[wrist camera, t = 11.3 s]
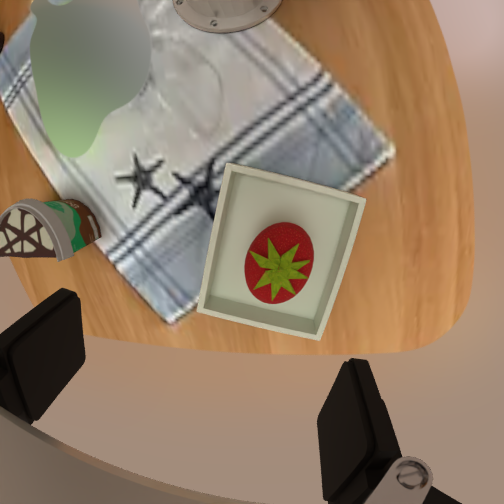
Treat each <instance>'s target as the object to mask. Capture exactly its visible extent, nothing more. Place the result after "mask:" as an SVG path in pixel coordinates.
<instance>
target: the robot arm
mask: <svg viewBox="0 0 504 504" xmlns="http://www.w3.org/2000/svg"><path fill="white" fill-rule="evenodd" d="M172 1H173V5H174V8H175V9H176V11H177V13H178V14H179V16H180V17H181V18H182V19H183V20H184V21H185V22H187V23H188V24H189V25H191V26H193V27H195V28H197V29H200V30H204V31H208V32H215V33H228V32H235V31H240V30H243V29H247V28H250V27H252V26H255V25H257V24H259V23H261V22H262V21H264V20H265V19H267V18H268V17H269V16H271V15H272V14H273V13H274V12H275V11H276V9H277V8H278V7H279V5H280V4H281V2H282V0H172ZM263 11H266V12H263ZM214 25H217V26H215V27H214ZM84 362H85V347H84V338H83V328H82V316H81V302H80V298H79V297H78V296H77V293H76V292H74V291H71V290H68V289H65V288H61V289H59V290H58V291H56V292H55V293H54V294H52V295H51V296H49V297H48V298H47V299H45V300H44V301H43V302H41V303H40V304H39V305H37V306H36V307H35V308H33V309H32V310H31V311H29V312H28V313H27V314H25V315H24V316H23V317H21V318H20V319H19V320H17V321H16V322H15V323H14V324H12V325H11V326H10V327H9V328H7V329H6V330H5V331H3V332H2V333H1V334H0V504H264V503H256V502H249V501H242V500H236V499H230V498H225V497H220V496H214V495H210V494H205V493H201V492H197V491H192V490H189V489H184V488H181V487H177V486H174V485H170V484H166V483H163V482H159V481H156V480H153V479H150V478H147V477H144V476H141V475H138V474H135V473H132V472H130V471H127V470H124V469H122V468H119V467H116V466H114V465H111V464H109V463H106V462H104V461H101V460H99V459H97V458H94V457H92V456H90V455H88V454H85V453H83V452H81V451H79V450H77V449H75V448H73V447H70V446H68V445H66V444H64V443H63V442H61V441H59V440H57V439H55V438H53V437H51V436H49V435H47V434H45V433H44V432H42V431H40V430H38V429H37V428H35V427H33V426H31V424H32V423H33V421H34V420H35V421H37V420H39V419H40V417H41V416H42V415H43V414H44V412H45V411H46V410H47V409H48V407H49V406H50V405H51V403H52V402H53V401H54V400H55V398H56V397H57V396H58V394H59V393H60V392H61V391H62V390H63V388H64V387H65V386H66V385H67V384H68V382H69V381H70V380H71V379H72V377H73V376H74V375H75V374H76V373H77V371H78V370H79V369H80V368H81V366H82V365H83V364H84ZM317 427H318V439H319V450H320V462H321V474H322V489H323V499H324V500H325V501H328V504H462V503H460V502H458V501H456V500H455V499H453V498H451V497H450V496H448V495H446V494H444V493H443V492H441V491H439V490H438V489H436V488H435V487H433V486H431V485H432V481H433V474H432V472H431V469H430V468H429V466H427V464H426V463H425V462H423V461H422V460H421V459H418V458H416V457H410V456H407V457H402V454H401V451H400V448H399V445H398V441H397V438H396V436H395V432H394V429H393V426H392V423H391V420H390V417H389V414H388V411H387V408H386V405H385V403H384V401H383V400H382V399H381V396H380V393H379V390H378V388H377V385H376V382H375V379H374V376H373V374H372V371H371V368H370V365H369V363H368V361H367V360H363V359H354V358H351V359H350V360H349V361H348V362H346V361H345V362H344V363H343V364H342V367H341V369H340V371H339V373H338V376H337V378H336V380H335V382H334V384H333V386H332V389H331V391H330V393H329V395H328V397H327V399H326V401H325V403H324V405H323V407H322V409H321V411H320V413H319V415H318V419H317Z"/></svg>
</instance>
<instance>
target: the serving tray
mask: <svg viewBox="0 0 504 504" xmlns="http://www.w3.org/2000/svg"><path fill="white" fill-rule="evenodd" d="M365 203H366V199H365V198H363V197H361V196H358V195H356V194H352V193H349V192H346V191H342V190H339V189H335V188H332V187H328V186H324V185H321V184H317V183H313V182H310V181H306V180H302V179H298V178H294V177H290V176H286V175H282V174H278V173H274V172H270V171H266V170H262V169H257V168H253V167H249V166H244V165H240V164H235V163H226V167H225V171H224V176H223V180H222V185H221V189H220V194H219V199H218V203H217V208H216V213H215V218H214V223H213V228H212V233H211V238H210V243H209V248H208V253H207V258H206V263H205V269H204V274H203V280H202V285H201V291H200V296H199V302H198V307H197V312H200V313H204V314H207V315H211V316H215V317H219V318H223V319H226V320H230V321H234V322H238V323H242V324H247V325H251V326H255V327H259V328H263V329H268V330H272V331H276V332H281V333H285V334H290V335H294V336H299V337H304V338H309V339H313V340H318V341H320V339H321V337H322V334H323V331H324V329H325V326H326V323H327V321H328V318H329V315H330V313H331V310H332V307H333V304H334V301H335V299H336V296H337V293H338V290H339V287H340V284H341V281H342V278H343V275H344V272H345V269H346V266H347V263H348V260H349V257H350V254H351V251H352V247H353V244H354V241H355V238H356V234H357V231H358V228H359V224H360V221H361V217H362V214H363V210H364V207H365ZM280 222H290V223H294V224H296V225H298V226H300V227H302V228H303V229H304V230H305V231H306V232H307V234H308V235H309V237H310V239H311V241H312V244H313V249H314V262H313V267H312V271H311V274H310V276H309V279H308V281H307V282H306V284H305V286H304V287H303V288H302V290H301V291H300V292H299V293H298V294H297V295H296V296H295V297H293V298H291V299H290V300H288V301H286V302H283V303H279V304H267V303H264V302H262V301H260V300H258V299H257V298H256V297H254V296H253V295H252V293H251V292H250V290H249V288H248V286H247V284H246V279H245V273H244V265H245V258H246V255H247V251H248V249H249V247H250V245H251V243H252V242H253V240H254V239H255V238H256V236H257V235H258V234H259V233H260V232H261V231H263V230H264V229H265V228H267V227H268V226H271V225H273V224H275V223H280Z"/></svg>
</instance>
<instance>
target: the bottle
mask: <svg viewBox="0 0 504 504" xmlns="http://www.w3.org/2000/svg"><path fill="white" fill-rule="evenodd" d="M3 42H4V36H3V34H2V32H0V52H1V49H2V46H3Z"/></svg>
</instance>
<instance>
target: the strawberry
mask: <svg viewBox="0 0 504 504" xmlns="http://www.w3.org/2000/svg"><path fill="white" fill-rule="evenodd" d="M313 262H314V249H313V244H312V241H311V239H310V237H309V235H308V234H307V232H306V231H305V230H304V229H303V228H302V227H300V226H298V225H296V224H294V223H290V222H280V223H275V224H273V225H271V226H268V227H267V228H265V229H264V230H263V231H261V232H260V233H259V234H258V235H257V236H256V238H255V239H254V240H253V242H252V243H251V245H250V247H249V249H248V251H247V255H246V258H245V265H244V273H245V279H246V284H247V286H248V288H249V290H250V292H251V293H252V295H253V296H254V297H256V298H257V299H258V300H260V301H262V302H264V303H267V304H279V303H283V302H286V301H288V300H290V299H291V298H293V297H295V296H296V295H297V294H298V293H299V292H300V291H301V290H302V288H303V287H304V286H305V284H306V282H307V281H308V279H309V276H310V274H311V271H312V267H313Z"/></svg>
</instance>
